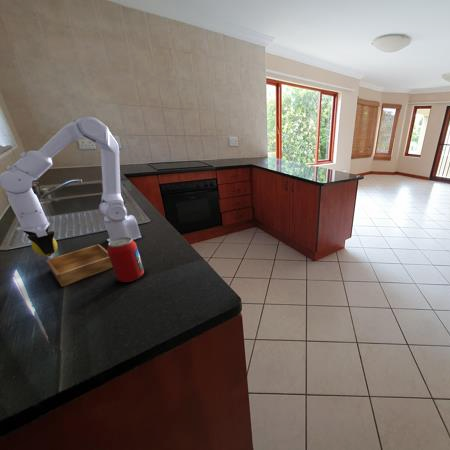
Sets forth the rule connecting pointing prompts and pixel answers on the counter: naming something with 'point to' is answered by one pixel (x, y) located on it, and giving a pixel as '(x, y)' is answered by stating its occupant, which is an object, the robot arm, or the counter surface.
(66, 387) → the counter surface
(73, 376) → the counter surface
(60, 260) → the wooden tray
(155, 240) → the counter surface
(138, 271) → the beverage can
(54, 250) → the lemon
